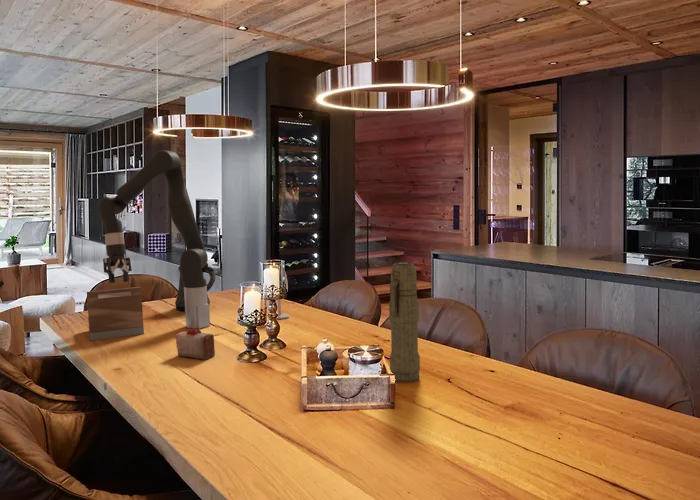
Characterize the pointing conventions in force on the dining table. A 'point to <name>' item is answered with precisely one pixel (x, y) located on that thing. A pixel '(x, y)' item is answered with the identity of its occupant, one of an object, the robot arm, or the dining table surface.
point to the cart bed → (116, 333)
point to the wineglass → (280, 315)
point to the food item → (195, 344)
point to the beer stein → (180, 297)
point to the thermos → (404, 322)
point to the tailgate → (114, 309)
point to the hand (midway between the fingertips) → (119, 282)
